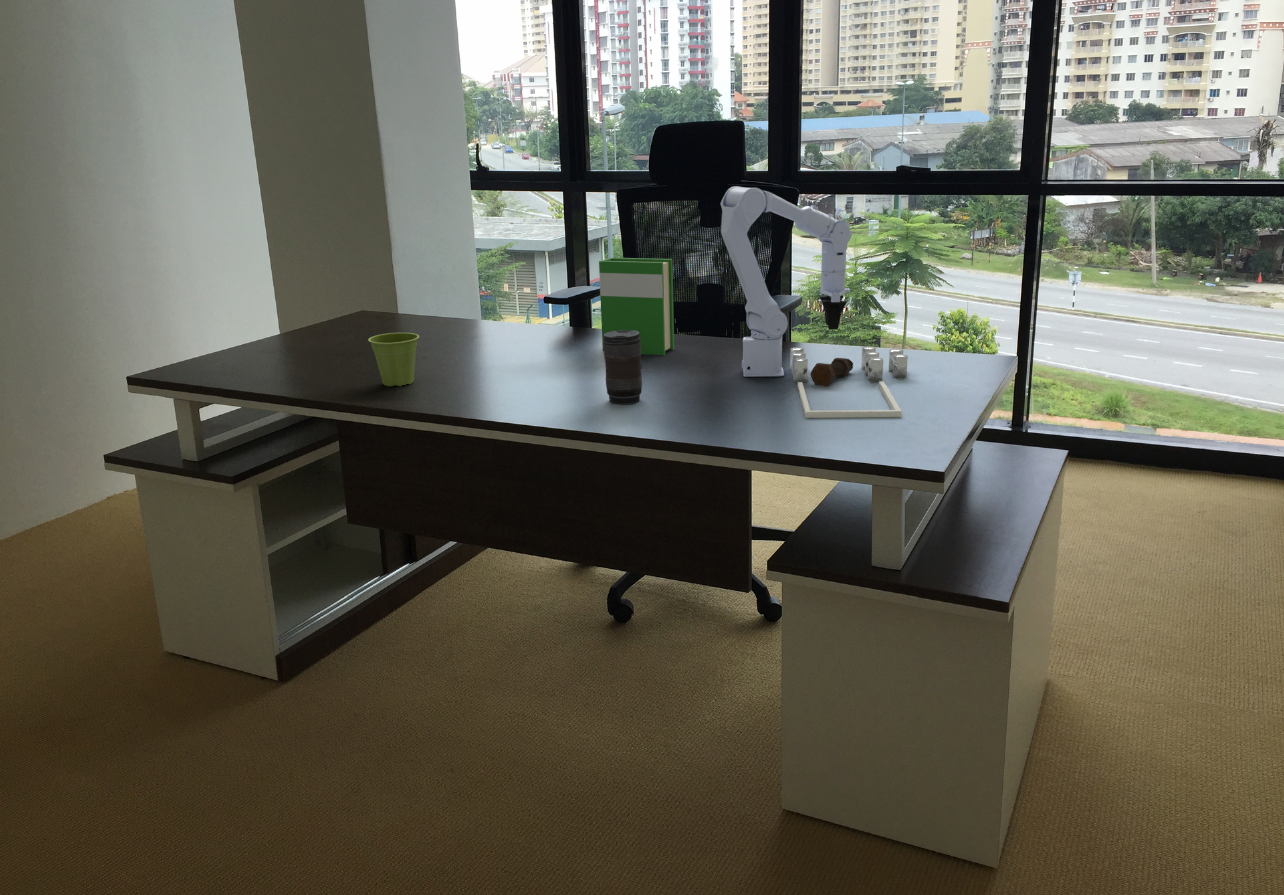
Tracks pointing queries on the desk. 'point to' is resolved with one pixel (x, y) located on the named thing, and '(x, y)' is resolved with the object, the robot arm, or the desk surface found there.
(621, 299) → the hardback book
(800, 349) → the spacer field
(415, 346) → the plant pot
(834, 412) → the tray rim
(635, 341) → the camera lens
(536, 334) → the desk surface
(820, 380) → the bolt
